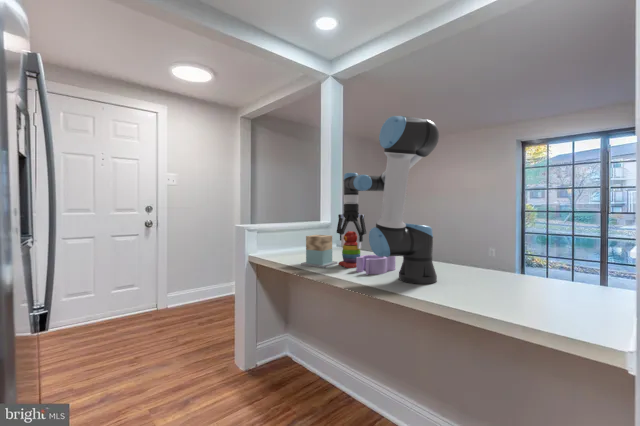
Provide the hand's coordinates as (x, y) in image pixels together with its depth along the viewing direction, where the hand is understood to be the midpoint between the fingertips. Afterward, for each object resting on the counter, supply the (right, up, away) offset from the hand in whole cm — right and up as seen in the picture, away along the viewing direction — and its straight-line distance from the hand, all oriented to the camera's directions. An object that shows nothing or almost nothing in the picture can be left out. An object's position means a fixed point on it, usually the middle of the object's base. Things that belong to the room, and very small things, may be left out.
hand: (351, 247), depth 162 cm
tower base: (-16, -9, +4) cm, 19 cm away
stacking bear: (0, -10, 0) cm, 10 cm away
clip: (+11, -10, -11) cm, 19 cm away
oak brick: (-16, -1, +4) cm, 17 cm away
